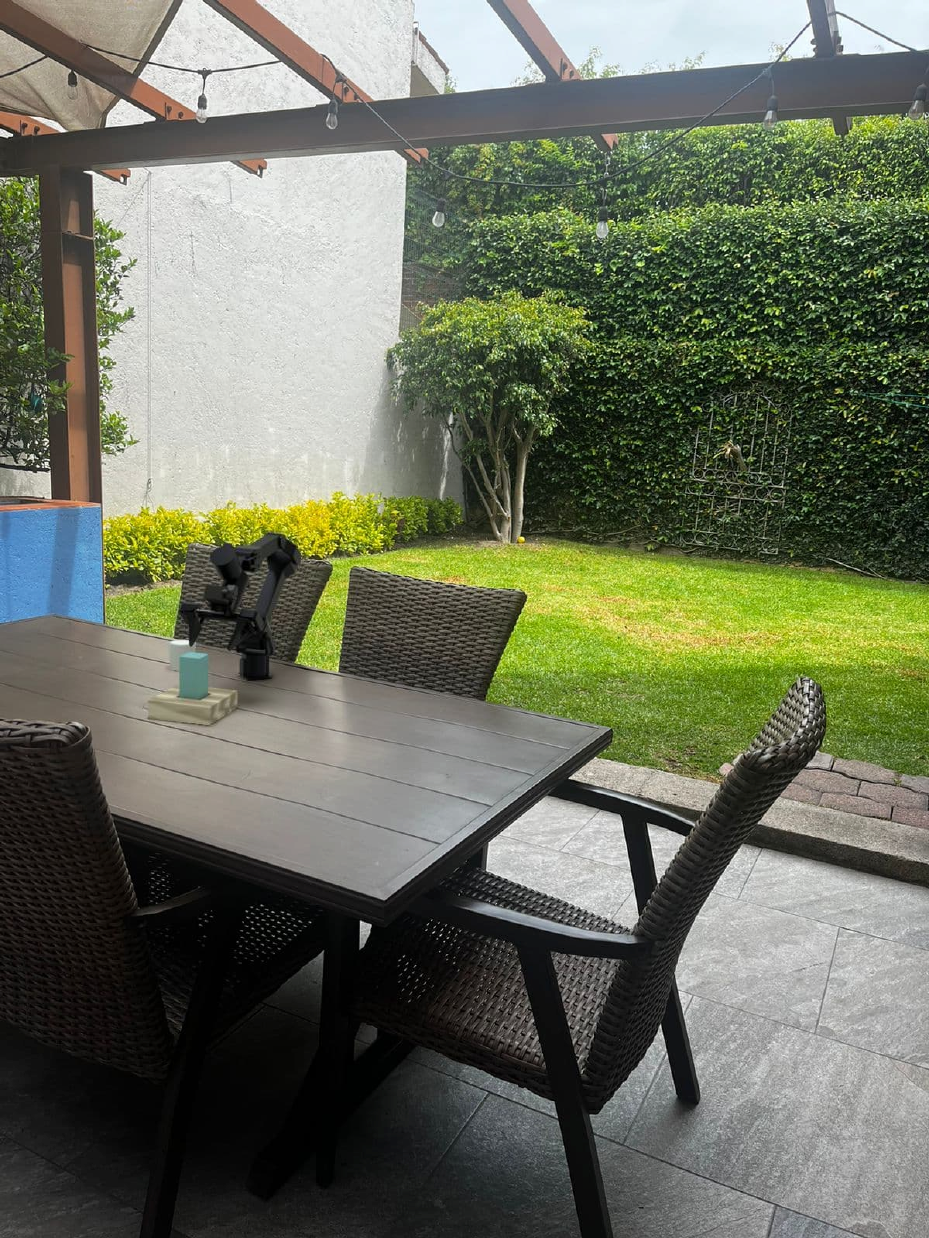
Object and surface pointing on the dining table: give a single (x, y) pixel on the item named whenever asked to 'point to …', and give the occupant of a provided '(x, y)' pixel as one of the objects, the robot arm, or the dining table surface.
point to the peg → (193, 676)
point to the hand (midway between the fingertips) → (209, 647)
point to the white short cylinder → (178, 652)
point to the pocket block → (192, 706)
